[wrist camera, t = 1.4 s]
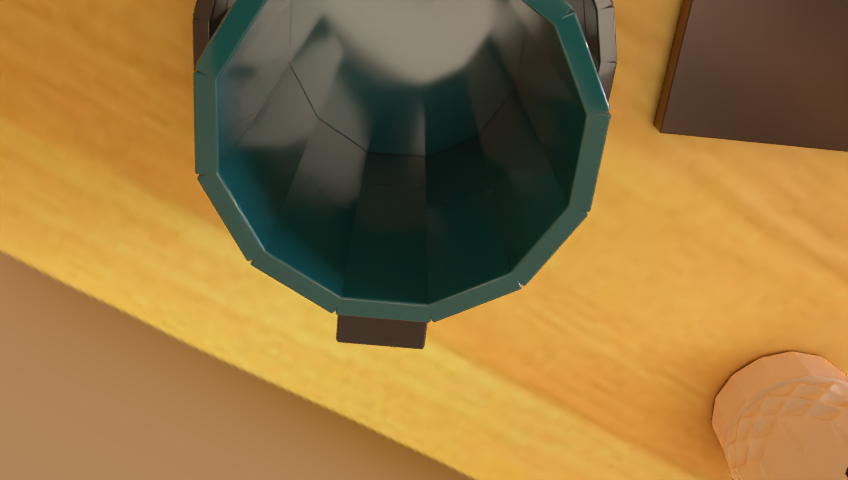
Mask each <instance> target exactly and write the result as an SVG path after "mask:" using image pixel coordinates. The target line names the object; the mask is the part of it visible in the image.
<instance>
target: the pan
mask: <svg viewBox="0 0 848 480" xmlns="http://www.w3.org/2000/svg"><path fill="white" fill-rule="evenodd" d="M567 1H568V2H569V3H570V4H571V5H572V8H573V9H574V10H575V11H576V12H577V15H578V18H579V21H580V24H581V27H582V30H583V32H584V35H585V38H586V41H587V44H588V47H589V49H590V52H591V55H592V58H593V61H594V64H595V66H596V69H597V72H598V75H599V78H600V81H601V84H602V86H603V89H604V92H605V95H606V98H607V101H608V102H609V97H610V93H611V88H612V83H613V78H614V74H615V69H616V64H617V63H616V61H617V53H616V34H615V15H614V6H613V1H612V0H567ZM233 2H234V0H197V1H196V5H195V9H194V13H193V17H194V18H193V64H194V71H195V70H196V69H195V65H196V63H197V61H198V60H199V58H200V56H201V55H202V53H203V51H204V50H205V48H206V46H207V45H208V43H209V42H210V40H211V38H212V37H213V35H214V33H215V32H216V30H217V28H218V27H219V25H220V23H221V22H222V20H223V18H224V17H225V15H226V13H227V12H228V10H229V8H230V7H231V5H232V3H233Z"/></svg>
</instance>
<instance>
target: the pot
mask: <svg viewBox="0 0 848 480" xmlns="http://www.w3.org/2000/svg"><path fill="white" fill-rule="evenodd" d="M195 69H196V70H195V71H194V73H193V91H194V139H195V172H196V174H199V176H198V177H197V178H198V181H199V182H200V184H201V186H202V187H203V189H204V191H205V192H206V194H207V196H208V197H209V199H210V200H211V202H212V204H213V205H214V207H215V209H216V210H217V212H218V214H219V215H220V217H221V219H222V220H223V222H224V223H225V225H226V227H227V228H228V230H229V232H230V233H231V235H232V237H233V238H234V240H235V242H236V243H237V245H238V246H239V248H240V250H241V251H242V253H243V255H244V256H245V258H246V260H247V261H250V260H251V265H252V266H254V267H255V268H257V269H259V270H260V271H262V272H264V273H265V274H267V275H269V276H270V277H272V278H274V279H275V280H277V281H279V282H280V283H282V284H284V285H285V286H287V287H289V288H290V289H292V290H294V291H295V292H297V293H299V294H300V295H302V296H304V297H305V298H307V299H309V300H310V301H312V302H314V303H315V304H317V305H319V306H320V307H322V308H324V309H325V310H327V311H329V312H330V313H333V312H334V311H335V310H336V314H337V315H338V318H337V333H336V340H337V341H338V342H343V343H355V344H367V345H379V346H390V347H402V348H414V349H423V348H424V346H425V338H426V330H427V323H428V322H430V321H431V319H432V321H433V322H436V321H439V320H441V319H444V318H447V317H449V316H452V315H454V314H457V313H460V312H462V311H465V310H467V309H470V308H473V307H475V306H478V305H480V304H483V303H486V302H488V301H491V300H493V299H496V298H499V297H501V296H504V295H506V294H509V293H512V292H514V291H517V290H519V289H521V284H522V285H524V286H525V285H526V284H527V283H528V282H529V281H530V280H531V279H532V278H533V276H534V275H535V274H536V273H537V272H538V271H539V270H540V269H541V267H542V266H543V265H544V264H545V263H546V262H547V261H548V259H549V258H550V257H551V256H552V255H553V254H554V253H555V252H556V250H557V249H558V248H559V247H560V246H561V245H562V244H563V243H564V241H565V240H566V239H567V238H568V237H569V236H570V235H571V234H572V232H573V231H574V230H575V229H576V228H577V227H578V226H579V225H580V223H581V222H582V221H583V220H584V219H585V218H586V217H587V212H589V211H590V210H591V206H592V201H593V196H594V192H595V187H596V182H597V178H598V173H599V168H600V164H601V159H602V154H603V150H604V145H605V140H606V135H607V131H608V126H609V121H610V117H611V114H610V113H609V110H610V106H609V103H608V101H607V98H606V95H605V92H604V89H603V86H602V84H601V81H600V78H599V75H598V72H597V69H596V66H595V64H594V61H593V58H592V55H591V52H590V49H589V47H588V44H587V41H586V38H585V35H584V32H583V30H582V27H581V24H580V21H579V18H578V15H577V12H576V11H575V10H574V9H573V8H572V5H571V4H570V3H569V2H568V1H567V0H234V2H233V3H232V5H231V7H230V8H229V10H228V12H227V13H226V15H225V17H224V18H223V20H222V22H221V23H220V25H219V27H218V28H217V30H216V32H215V33H214V35H213V37H212V38H211V40H210V42H209V43H208V45H207V46H206V48H205V50H204V51H203V53H202V55H201V56H200V58H199V60H198V61H197V63H196V65H195ZM586 211H587V212H586Z"/></svg>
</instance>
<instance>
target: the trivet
mask: <svg viewBox="0 0 848 480" xmlns="http://www.w3.org/2000/svg"><path fill="white" fill-rule="evenodd" d="M654 126H655V127H656V129H657V130H658V131H659V132H660V133H668V134H678V135H687V136H697V137H707V138H717V139H727V140H737V141H747V142H757V143H767V144H777V145H787V146H797V147H807V148H817V149H826V150H836V151H846V152H848V0H683V5H682V9H681V13H680V17H679V21H678V26H677V30H676V34H675V38H674V42H673V47H672V51H671V55H670V59H669V63H668V68H667V72H666V76H665V80H664V84H663V88H662V93H661V97H660V101H659V105H658V109H657V114H656V118H655V122H654Z"/></svg>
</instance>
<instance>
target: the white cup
mask: <svg viewBox="0 0 848 480" xmlns="http://www.w3.org/2000/svg"><path fill="white" fill-rule="evenodd" d="M711 424H712V427H713V429H714V431H715V433H716V436H717V438H718V440H719V442H720V445H721V447H722V449H723V451H724V454H725V456H726V460H727V462H728V465H729V473H730V475H731V477H732V479H733V480H848V477H847V476H846V475H845V472H846V470H847V467H848V377H847V376H846V375H845V374H844V373H843V372H842V371H841V370H839V369H838V368H837V367H835V366H834V365H833V364H831V363H830V362H829V361H827V360H826V359H825V358H823V357H822V356H817V355H811V354H805V353H800V352H794V351H790V352H785V353H781V354H776V355H771V356H766V357H761V358H759V359H757V360H756V361H754V362H752V363H751V364H749V365H747V366H746V367H744V368H743V369H741V370H739V371H738V372H736V373H734V374H733V375H732V376H731V378H730V379H729V380H728V382H727V383H726V384H725V386H724V387H723V388H722V390H721V391H720V392H719V394H718V395H717V396H716V398H715V403H714V409H713V415H712V422H711Z"/></svg>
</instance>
